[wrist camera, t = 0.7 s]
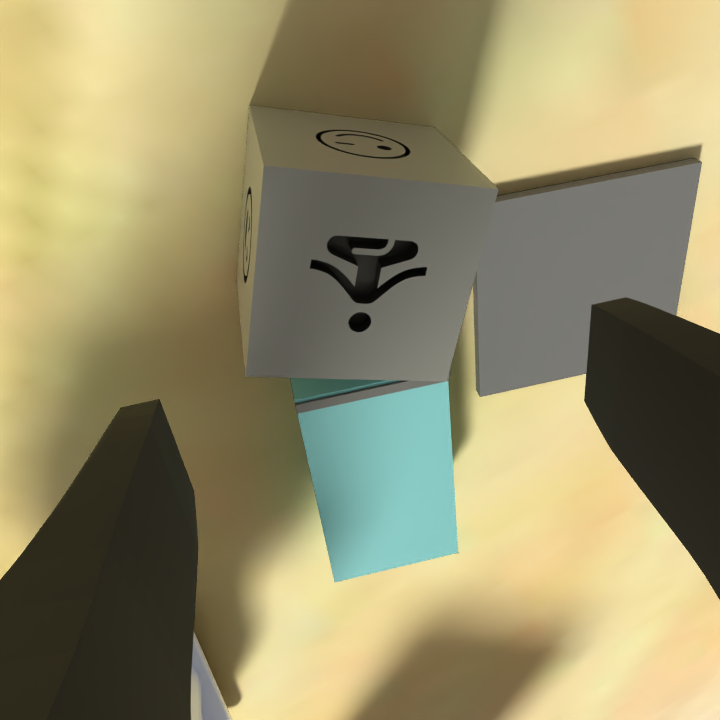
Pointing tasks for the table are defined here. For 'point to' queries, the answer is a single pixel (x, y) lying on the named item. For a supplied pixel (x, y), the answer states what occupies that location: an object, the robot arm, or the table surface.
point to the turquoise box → (379, 470)
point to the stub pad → (575, 267)
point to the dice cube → (355, 247)
